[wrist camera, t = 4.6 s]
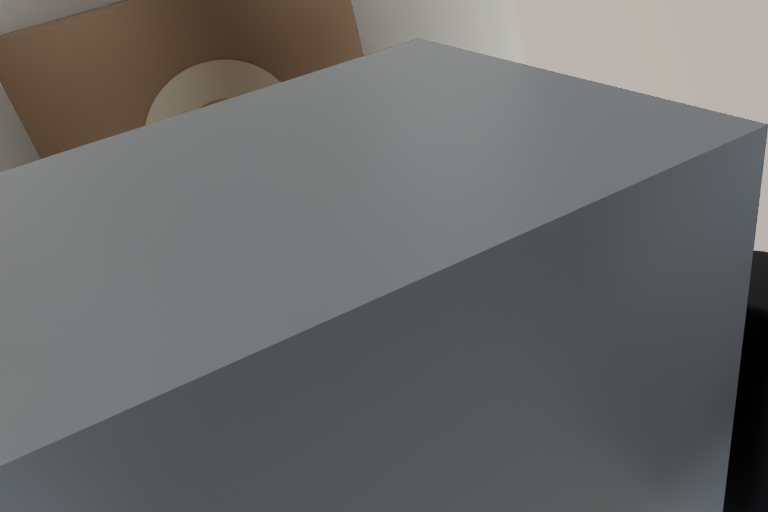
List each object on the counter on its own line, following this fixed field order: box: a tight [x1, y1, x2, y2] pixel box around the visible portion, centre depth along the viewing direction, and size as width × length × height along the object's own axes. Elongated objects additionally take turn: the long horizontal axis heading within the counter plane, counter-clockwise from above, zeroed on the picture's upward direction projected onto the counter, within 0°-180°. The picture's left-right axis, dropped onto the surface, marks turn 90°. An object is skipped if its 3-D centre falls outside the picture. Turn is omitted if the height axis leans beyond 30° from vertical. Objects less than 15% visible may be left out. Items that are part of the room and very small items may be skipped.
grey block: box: [0, 39, 768, 512], centre depth 7 cm, size 6×6×5 cm
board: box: [0, 0, 363, 159], centre depth 17 cm, size 9×8×4 cm
